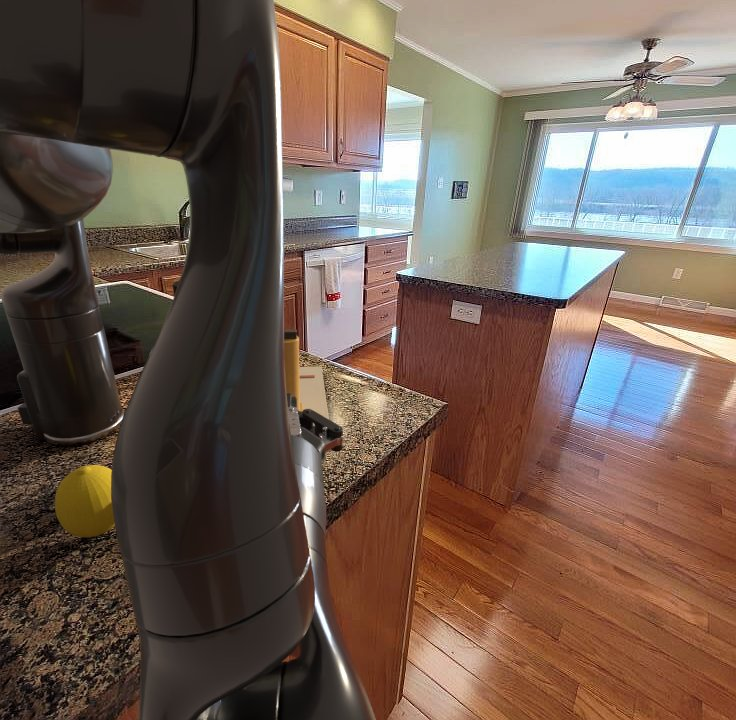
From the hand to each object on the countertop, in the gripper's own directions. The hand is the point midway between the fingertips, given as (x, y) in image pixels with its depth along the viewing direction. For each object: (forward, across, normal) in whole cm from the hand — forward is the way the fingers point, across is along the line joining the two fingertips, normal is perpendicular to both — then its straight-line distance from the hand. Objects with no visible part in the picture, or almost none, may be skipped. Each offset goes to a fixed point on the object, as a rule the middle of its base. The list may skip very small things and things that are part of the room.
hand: (285, 399), depth 48 cm
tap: (+8, +2, +7) cm, 11 cm away
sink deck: (+14, 0, +9) cm, 16 cm away
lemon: (-10, +18, +9) cm, 23 cm away
